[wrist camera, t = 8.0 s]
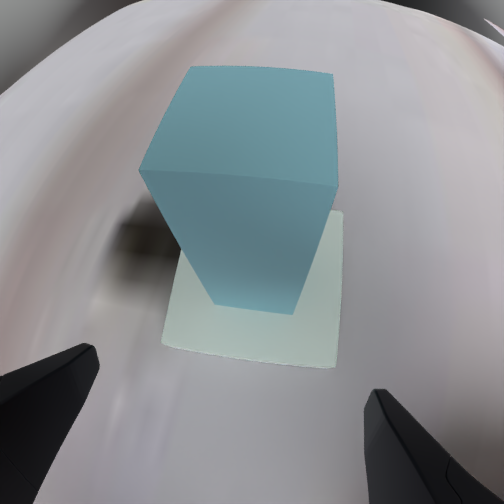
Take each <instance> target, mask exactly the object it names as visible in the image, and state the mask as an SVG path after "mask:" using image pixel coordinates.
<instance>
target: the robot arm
mask: <svg viewBox="0 0 504 504" xmlns="http://www.w3.org/2000/svg"><path fill="white" fill-rule="evenodd" d="M99 367H100V364H99V360H98V356H97V352H96V349H95V347H94V346H93V345H90V344H87V343H82V344H79V345H77V346H74V347H72V348H70V349H67V350H65V351H62V352H60V353H57V354H55V355H52V356H50V357H47V358H45V359H42V360H40V361H37V362H35V363H32V364H30V365H27V366H25V367H22V368H20V369H17V370H15V371H12V372H10V373H7V374H4V375H3V376H0V504H33V502H34V500H35V498H36V496H37V493H38V491H39V489H40V487H41V485H42V483H43V481H44V479H45V477H46V475H47V473H48V471H49V469H50V467H51V465H52V463H53V461H54V459H55V457H56V455H57V453H58V451H59V449H60V447H61V445H62V443H63V442H64V440H65V438H66V436H67V434H68V432H69V430H70V429H71V427H72V425H73V423H74V421H75V419H76V418H77V416H78V414H79V412H80V411H81V409H82V407H83V405H84V403H85V401H86V399H87V396H88V394H89V392H90V389H91V387H92V385H93V382H94V380H95V378H96V376H97V373H98V371H99ZM364 454H365V464H366V473H367V482H368V492H369V504H504V501H503V500H501V499H500V498H499V497H497V496H496V495H495V494H493V493H492V492H491V491H490V490H488V489H487V488H486V487H485V486H483V485H482V484H481V483H480V482H478V481H477V480H476V479H475V478H474V477H473V476H471V475H470V474H469V473H468V472H467V471H466V470H465V469H464V468H463V467H462V466H461V465H460V464H459V463H458V462H457V461H456V460H455V459H454V458H453V457H450V454H449V453H448V452H447V451H446V450H445V449H444V448H443V447H442V446H441V445H440V444H439V443H438V442H437V441H436V440H435V439H434V438H433V437H432V436H431V435H430V434H429V433H428V432H427V431H426V430H425V429H424V428H423V427H422V426H421V424H420V423H419V422H418V421H417V420H416V419H415V418H414V417H413V416H412V415H411V414H410V413H409V412H408V411H407V410H406V409H405V408H404V407H403V406H402V405H401V404H400V403H399V402H398V401H397V400H396V399H395V398H394V397H393V396H392V395H391V394H390V393H389V392H388V391H387V390H386V389H373V390H372V392H371V394H370V396H369V398H368V401H367V403H366V405H365V408H364Z"/></svg>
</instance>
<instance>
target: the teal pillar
mask: <svg viewBox="0 0 504 504" xmlns="http://www.w3.org/2000/svg"><path fill="white" fill-rule="evenodd" d="M139 172H140V174H141V176H142V178H143V180H144V182H145V183H146V185H147V187H148V189H149V191H150V193H151V195H152V197H153V198H154V200H155V202H156V204H157V206H158V208H159V210H160V211H161V213H162V215H163V217H164V219H165V220H166V222H167V224H168V226H169V228H170V229H171V231H172V233H173V235H174V237H175V238H176V240H177V242H178V244H179V245H180V247H181V249H182V251H183V252H184V254H185V256H186V258H187V259H188V261H189V263H190V264H191V266H192V268H193V270H194V271H195V273H196V275H197V276H198V278H199V280H200V281H201V283H202V285H203V286H204V288H205V290H206V291H207V293H208V295H209V296H210V298H211V300H212V301H213V303H214V305H221V306H228V307H234V308H242V309H249V310H256V311H264V312H272V313H280V314H288V315H293V313H294V310H295V308H296V305H297V302H298V300H299V297H300V295H301V292H302V289H303V287H304V284H305V281H306V279H307V276H308V273H309V270H310V268H311V265H312V262H313V259H314V256H315V254H316V251H317V248H318V245H319V242H320V239H321V237H322V234H323V231H324V228H325V225H326V222H327V219H328V216H329V213H330V210H331V207H332V204H333V201H334V198H335V195H336V192H337V189H338V154H337V128H336V109H335V94H334V81H333V74H329V73H322V72H314V71H306V70H296V69H285V68H272V67H253V66H194V67H190V69H189V70H188V72H187V74H186V76H185V77H184V79H183V81H182V83H181V85H180V86H179V88H178V90H177V92H176V94H175V96H174V97H173V99H172V101H171V103H170V105H169V107H168V109H167V111H166V113H165V115H164V117H163V119H162V121H161V123H160V125H159V127H158V129H157V131H156V133H155V135H154V137H153V139H152V141H151V143H150V146H149V148H148V150H147V152H146V154H145V157H144V159H143V161H142V163H141V166H140V168H139Z"/></svg>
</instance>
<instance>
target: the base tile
mask: <svg viewBox="0 0 504 504" xmlns="http://www.w3.org/2000/svg"><path fill="white" fill-rule="evenodd" d="M342 265H343V211H337V210H330V213H329V216H328V219H327V222H326V225H325V228H324V231H323V234H322V237H321V239H320V242H319V245H318V248H317V251H316V254H315V256H314V259H313V262H312V265H311V268H310V270H309V273H308V276H307V279H306V281H305V284H304V287H303V289H302V292H301V295H300V297H299V300H298V302H297V305H296V308H295V310H294V313H293V315H288V314H280V313H272V312H264V311H256V310H249V309H242V308H234V307H228V306H221V305H214V303H213V301H212V300H211V298H210V296H209V295H208V293H207V291H206V290H205V288H204V286H203V285H202V283H201V281H200V280H199V278H198V276H197V275H196V273H195V271H194V270H193V268H192V266H191V264H190V263H189V261H188V259H187V258H186V256H185V254H184V252H183V251H182V249H181V253H180V258H179V262H178V266H177V270H176V274H175V278H174V283H173V287H172V291H171V296H170V300H169V305H168V310H167V314H166V319H165V324H164V329H163V334H162V339H161V343H162V344H164V345H167V346H169V347H172V348H177V349H182V350H187V351H193V352H198V353H204V354H209V355H215V356H221V357H228V358H234V359H241V360H248V361H256V362H263V363H272V364H280V365H290V366H300V367H311V368H324V369H330V368H334V367H336V361H337V350H338V338H339V325H340V310H341V291H342Z"/></svg>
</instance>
